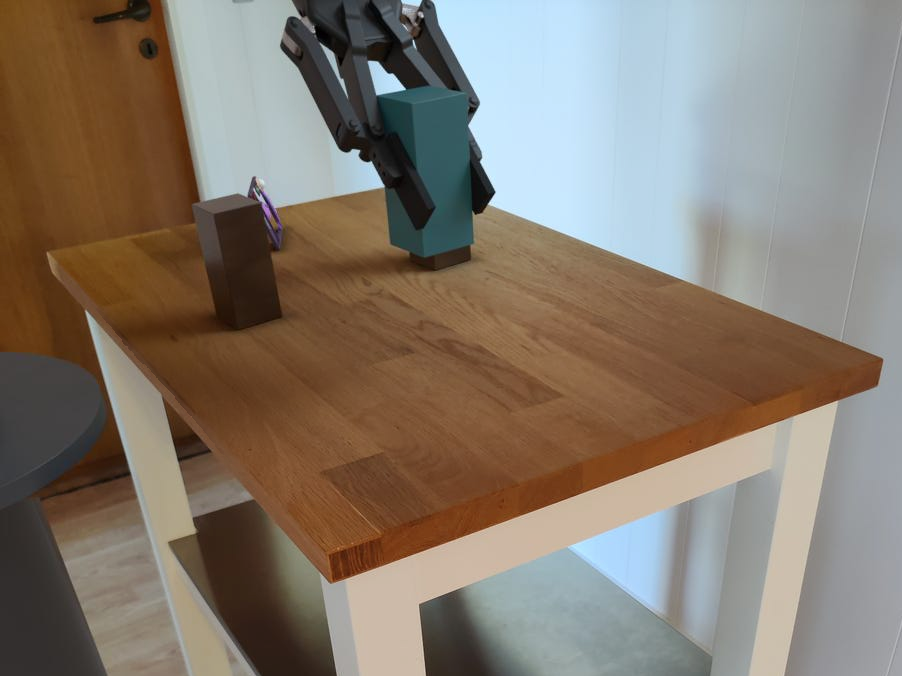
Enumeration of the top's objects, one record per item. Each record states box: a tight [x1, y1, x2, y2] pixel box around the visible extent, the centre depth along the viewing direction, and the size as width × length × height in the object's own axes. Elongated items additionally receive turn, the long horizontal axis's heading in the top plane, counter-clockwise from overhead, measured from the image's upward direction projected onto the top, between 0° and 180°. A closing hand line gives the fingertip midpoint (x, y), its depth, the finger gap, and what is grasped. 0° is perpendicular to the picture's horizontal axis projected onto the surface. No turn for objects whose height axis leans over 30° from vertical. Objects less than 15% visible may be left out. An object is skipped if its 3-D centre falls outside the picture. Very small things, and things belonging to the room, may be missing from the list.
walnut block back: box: [409, 245, 472, 271], centre depth 108 cm, size 5×5×11 cm
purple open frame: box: [246, 175, 284, 251], centre depth 120 cm, size 7×5×9 cm
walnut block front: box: [191, 193, 283, 330], centre depth 98 cm, size 5×5×11 cm
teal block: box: [376, 86, 475, 258], centre depth 78 cm, size 5×5×11 cm
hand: (455, 210), depth 77 cm, fingers closed on teal block, 5 cm apart
